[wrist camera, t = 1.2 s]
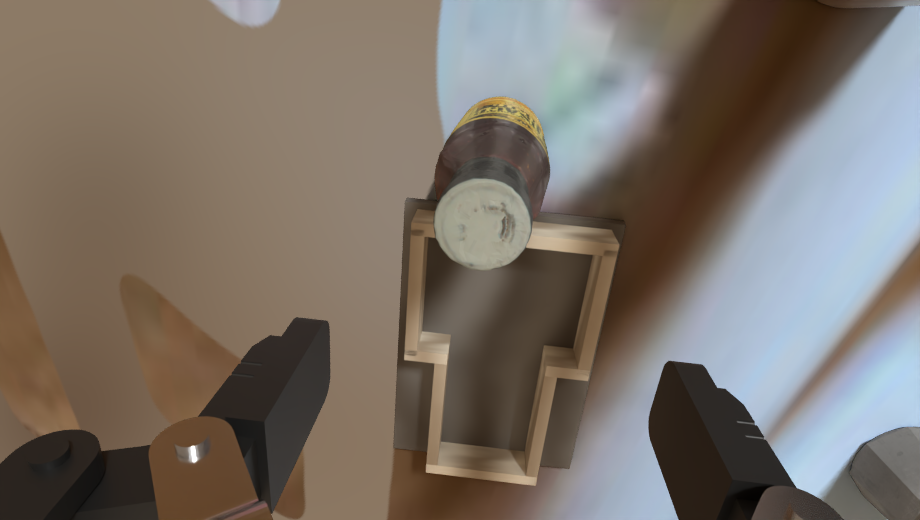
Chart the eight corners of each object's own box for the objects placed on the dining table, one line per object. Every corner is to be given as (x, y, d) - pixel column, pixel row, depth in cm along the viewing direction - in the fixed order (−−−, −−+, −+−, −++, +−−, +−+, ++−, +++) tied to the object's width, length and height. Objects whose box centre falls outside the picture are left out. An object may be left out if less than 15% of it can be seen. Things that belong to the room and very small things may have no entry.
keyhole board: (623, 220, 41) (635, 239, 38) (568, 461, 51) (573, 494, 48) (406, 197, 42) (398, 214, 38) (395, 440, 52) (387, 471, 48)
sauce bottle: (558, 124, 39) (609, 213, 20) (510, 193, 41) (516, 328, 23) (483, 73, 37) (466, 119, 19) (437, 147, 40) (385, 250, 22)
